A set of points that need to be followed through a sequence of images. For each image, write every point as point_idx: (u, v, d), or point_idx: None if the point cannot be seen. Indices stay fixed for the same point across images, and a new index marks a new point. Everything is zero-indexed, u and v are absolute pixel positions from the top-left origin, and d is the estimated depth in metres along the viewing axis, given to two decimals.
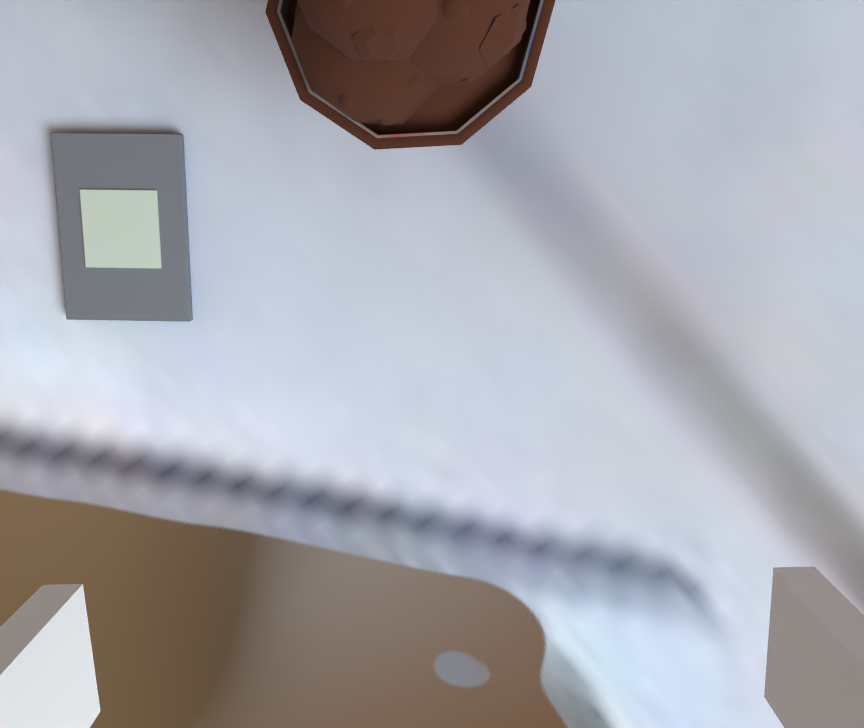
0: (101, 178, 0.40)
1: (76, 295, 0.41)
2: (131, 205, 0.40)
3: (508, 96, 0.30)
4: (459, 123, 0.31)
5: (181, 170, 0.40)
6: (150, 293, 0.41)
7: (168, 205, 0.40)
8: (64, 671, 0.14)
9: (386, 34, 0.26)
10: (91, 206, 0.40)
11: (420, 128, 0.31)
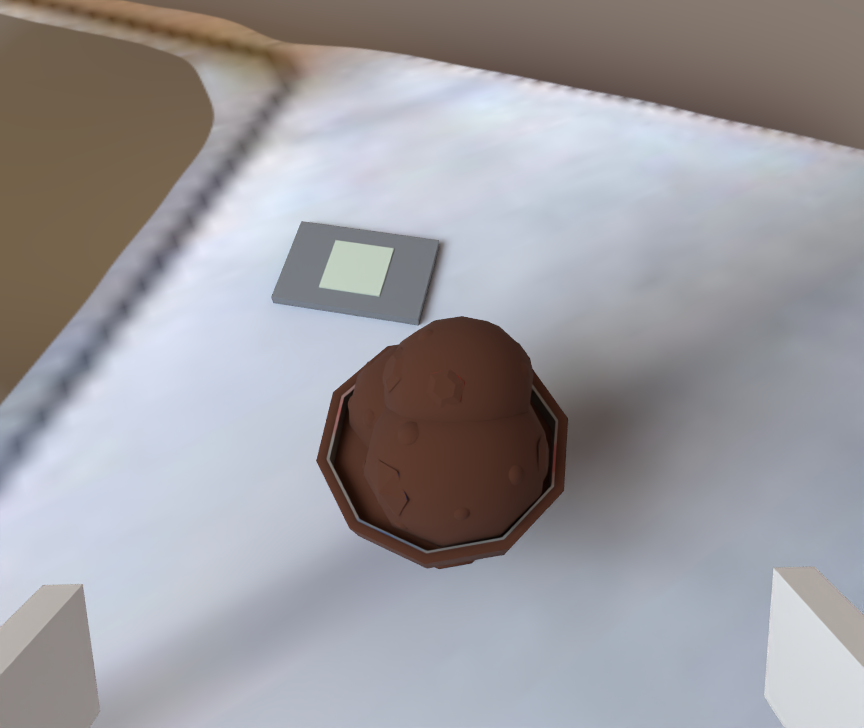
0: (397, 263, 0.50)
1: (317, 230, 0.52)
2: (372, 277, 0.50)
3: (346, 506, 0.32)
4: (338, 470, 0.34)
5: (390, 315, 0.48)
6: (302, 276, 0.50)
7: (365, 301, 0.49)
8: (64, 671, 0.14)
9: (394, 370, 0.31)
10: (379, 252, 0.51)
11: (343, 437, 0.35)
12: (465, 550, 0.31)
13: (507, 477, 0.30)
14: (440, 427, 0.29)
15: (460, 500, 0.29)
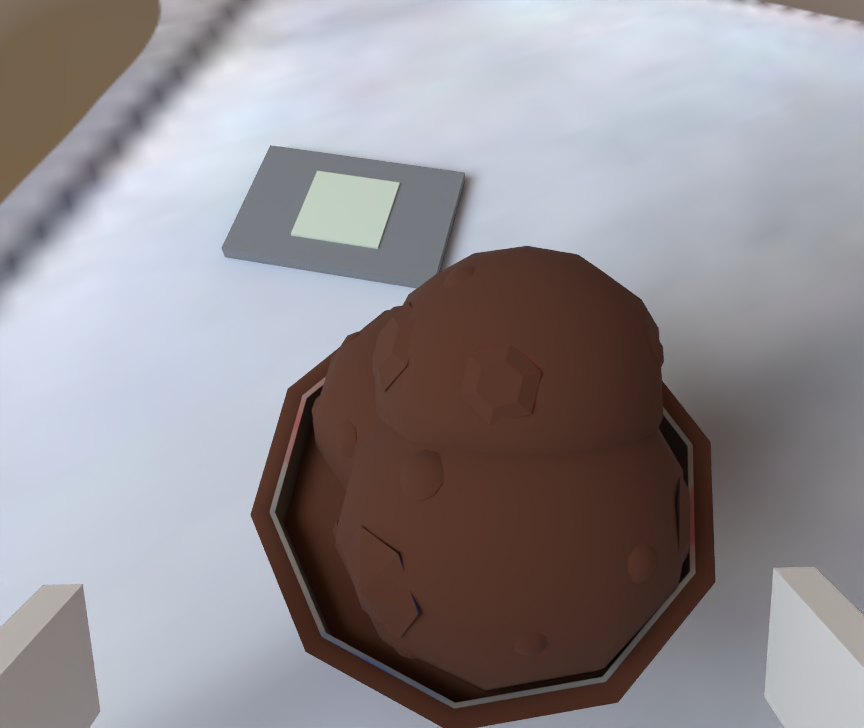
0: (405, 203, 0.35)
1: (291, 157, 0.37)
2: (368, 221, 0.34)
3: (300, 607, 0.17)
4: (293, 531, 0.19)
5: (393, 276, 0.33)
6: (267, 219, 0.35)
7: (357, 256, 0.34)
8: (64, 671, 0.14)
9: (396, 346, 0.15)
10: (379, 188, 0.36)
11: (304, 470, 0.19)
12: (533, 705, 0.16)
13: (624, 569, 0.14)
14: (489, 466, 0.14)
15: (530, 619, 0.14)
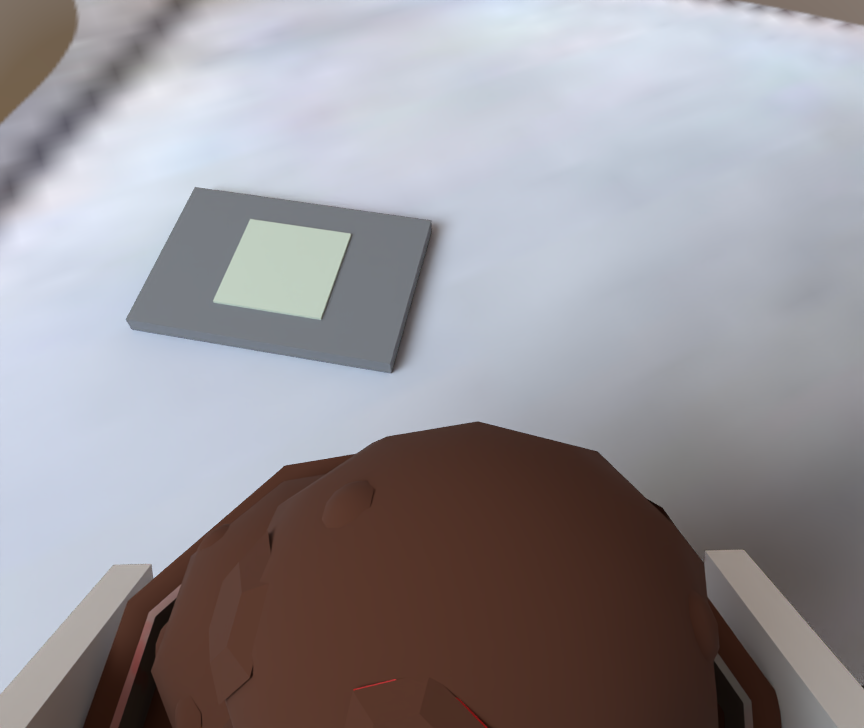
0: (357, 260, 0.28)
1: (220, 202, 0.30)
2: (310, 284, 0.28)
3: None
4: None
5: (339, 355, 0.26)
6: (185, 282, 0.28)
7: (295, 329, 0.27)
8: None
9: (238, 629, 0.08)
10: (325, 241, 0.29)
11: None
12: None
13: None
14: None
15: None
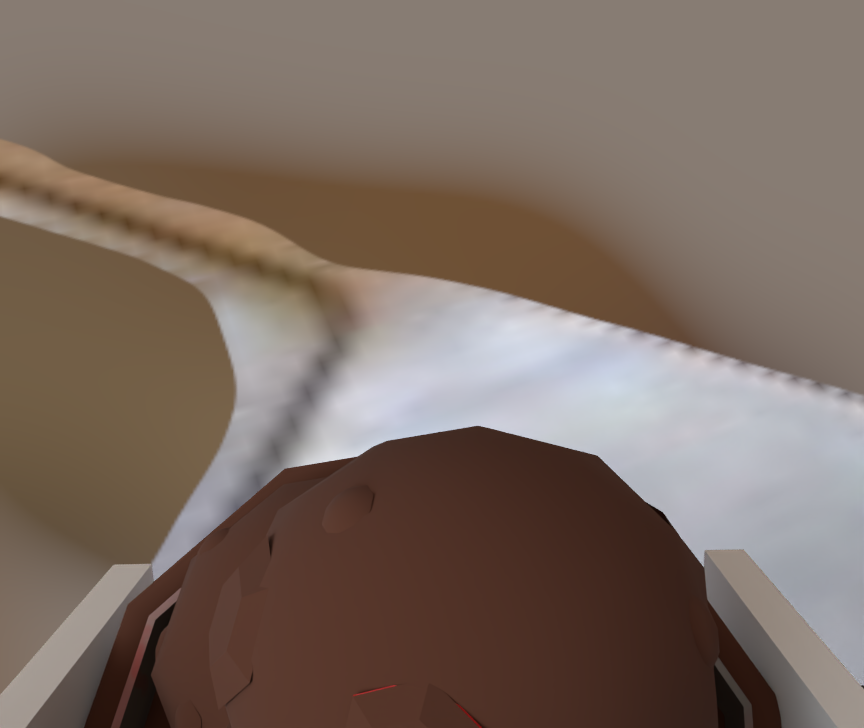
0: None
1: None
2: None
3: None
4: None
5: None
6: None
7: None
8: None
9: (238, 634, 0.08)
10: None
11: None
12: None
13: None
14: None
15: None
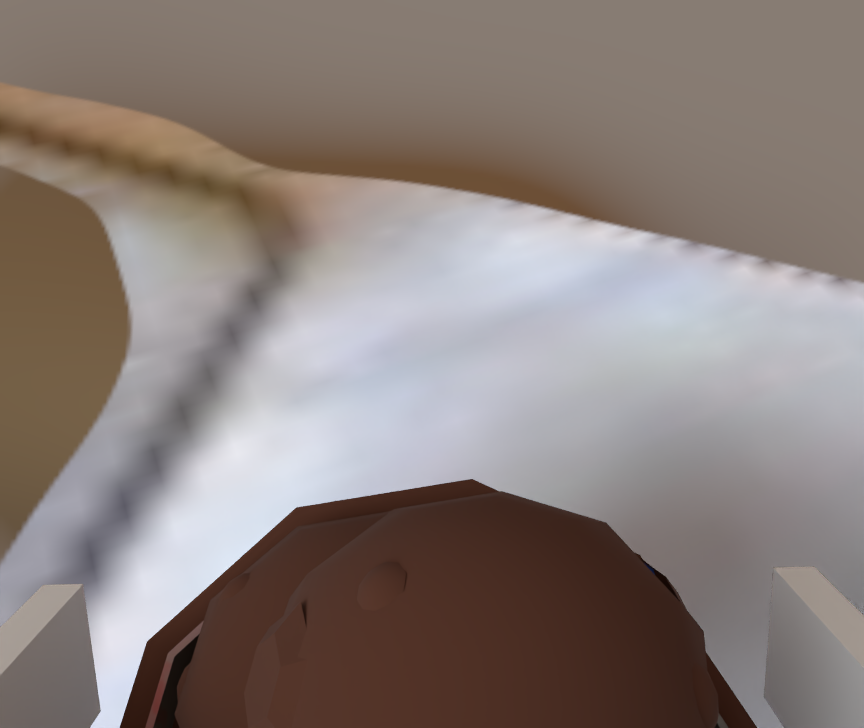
0: None
1: None
2: None
3: None
4: None
5: None
6: None
7: None
8: (64, 671, 0.14)
9: (276, 700, 0.09)
10: None
11: None
12: None
13: None
14: None
15: None
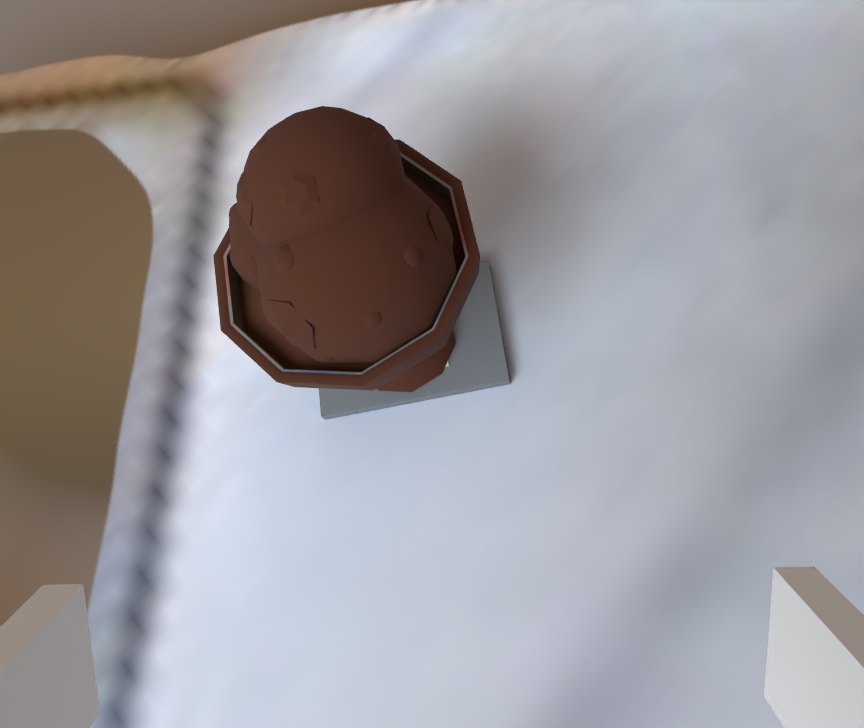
0: None
1: None
2: None
3: (265, 362, 0.30)
4: (250, 331, 0.31)
5: (473, 387, 0.38)
6: None
7: (435, 379, 0.38)
8: (64, 671, 0.14)
9: (244, 198, 0.27)
10: None
11: (243, 297, 0.32)
12: (399, 355, 0.28)
13: (404, 262, 0.27)
14: (312, 238, 0.26)
15: (364, 305, 0.26)
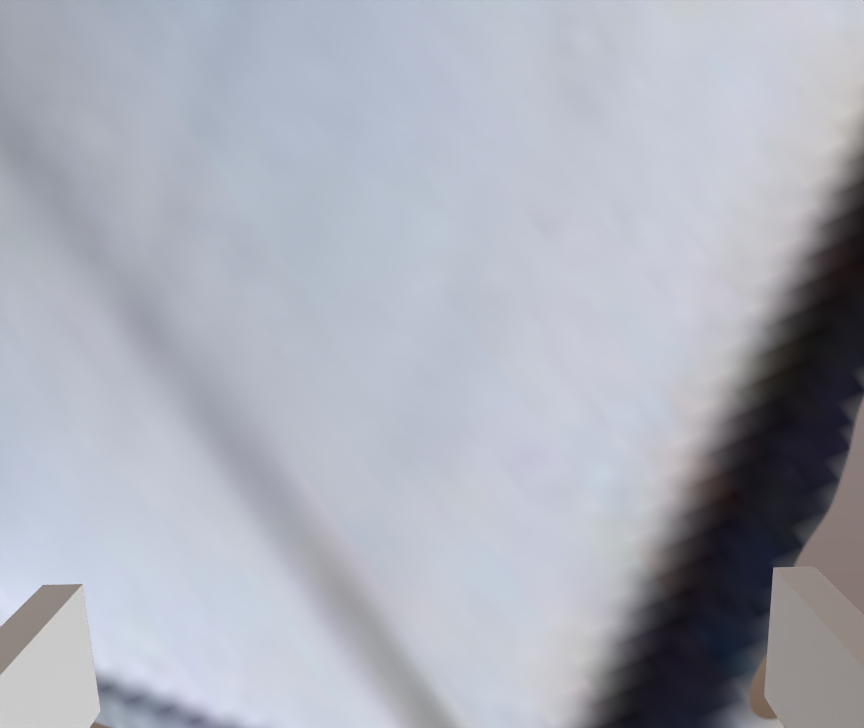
0: None
1: None
2: None
3: None
4: None
5: None
6: None
7: None
8: (64, 671, 0.14)
9: None
10: None
11: None
12: None
13: None
14: None
15: None
